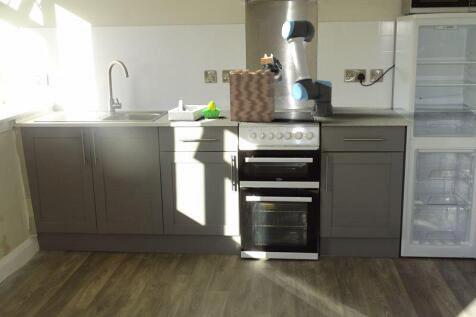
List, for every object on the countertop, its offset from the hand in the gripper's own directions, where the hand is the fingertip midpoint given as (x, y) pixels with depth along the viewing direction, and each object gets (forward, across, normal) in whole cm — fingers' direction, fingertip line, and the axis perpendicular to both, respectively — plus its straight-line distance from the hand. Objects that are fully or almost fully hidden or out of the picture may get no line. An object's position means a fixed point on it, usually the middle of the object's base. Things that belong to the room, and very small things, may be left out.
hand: (268, 55), depth 336 cm
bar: (+1, 0, -6) cm, 6 cm away
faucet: (-9, +57, -41) cm, 71 cm away
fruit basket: (-10, +37, -41) cm, 56 cm away
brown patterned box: (-5, +7, -43) cm, 44 cm away
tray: (-9, +53, -41) cm, 68 cm away
